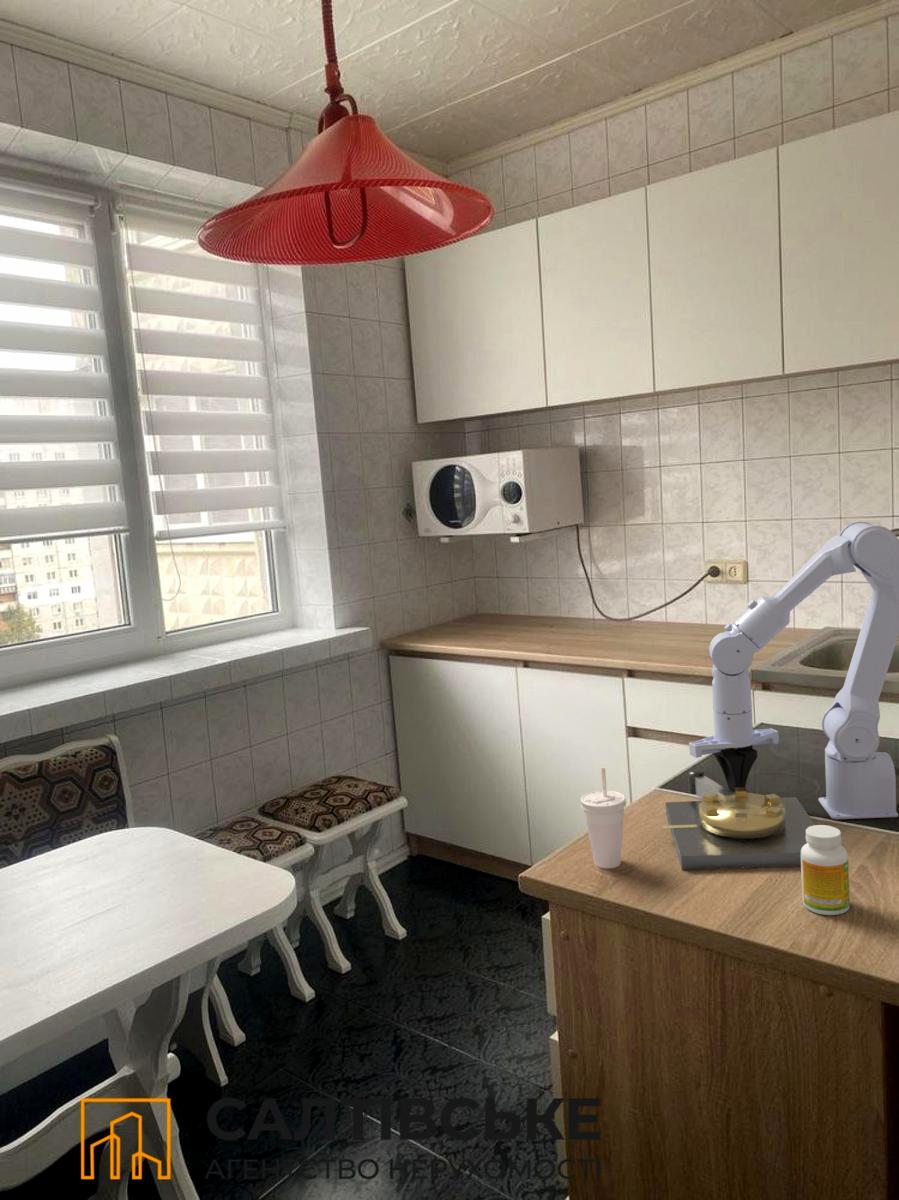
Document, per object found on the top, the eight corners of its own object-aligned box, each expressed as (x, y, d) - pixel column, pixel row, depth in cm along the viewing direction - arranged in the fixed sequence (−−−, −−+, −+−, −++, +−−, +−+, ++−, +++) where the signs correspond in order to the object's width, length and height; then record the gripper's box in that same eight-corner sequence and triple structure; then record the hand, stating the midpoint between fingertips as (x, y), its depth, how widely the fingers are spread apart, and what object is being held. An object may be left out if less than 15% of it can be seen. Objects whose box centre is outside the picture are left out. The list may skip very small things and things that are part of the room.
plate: (796, 809, 140) (795, 796, 140) (833, 865, 121) (833, 850, 121) (656, 814, 143) (655, 802, 143) (670, 870, 124) (669, 855, 124)
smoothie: (639, 859, 128) (632, 765, 126) (614, 876, 123) (607, 779, 122) (601, 849, 132) (594, 758, 130) (576, 866, 128) (568, 771, 126)
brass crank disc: (802, 829, 127) (802, 806, 127) (726, 844, 125) (724, 820, 124) (726, 783, 147) (725, 763, 147) (659, 795, 145) (658, 775, 144)
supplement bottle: (854, 917, 107) (852, 840, 106) (807, 916, 109) (803, 840, 107) (844, 895, 113) (841, 822, 111) (799, 895, 114) (796, 822, 112)
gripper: (758, 697, 145) (762, 777, 147) (677, 710, 142) (682, 793, 143) (785, 707, 138) (788, 791, 140) (700, 721, 135) (705, 807, 137)
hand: (736, 793), depth 141 cm, fingers closed
